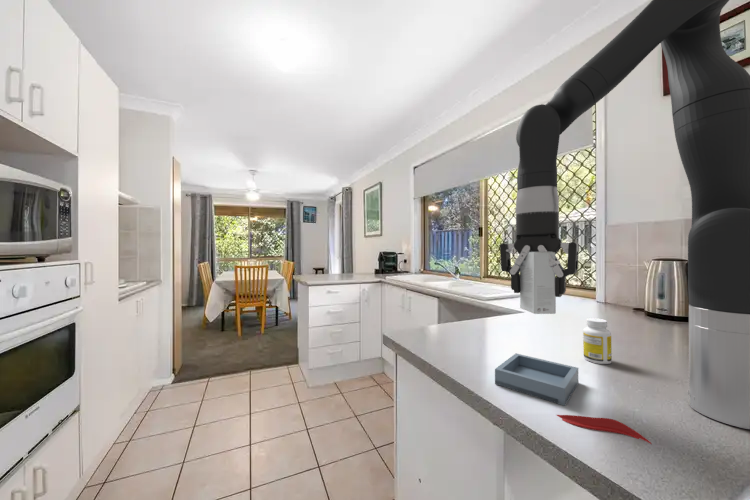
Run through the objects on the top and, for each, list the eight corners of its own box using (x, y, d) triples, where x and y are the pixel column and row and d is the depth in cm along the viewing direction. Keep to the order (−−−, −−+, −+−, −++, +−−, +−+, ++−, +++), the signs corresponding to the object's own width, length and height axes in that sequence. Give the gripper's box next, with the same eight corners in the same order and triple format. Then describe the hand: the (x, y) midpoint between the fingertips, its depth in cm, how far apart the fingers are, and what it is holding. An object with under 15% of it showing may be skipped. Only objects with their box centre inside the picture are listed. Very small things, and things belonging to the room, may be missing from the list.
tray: (578, 382, 59) (578, 367, 59) (564, 405, 51) (564, 388, 51) (515, 366, 68) (515, 353, 67) (494, 383, 59) (494, 369, 59)
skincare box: (556, 314, 56) (556, 251, 56) (534, 314, 56) (533, 251, 56) (539, 307, 62) (539, 251, 62) (519, 308, 62) (518, 251, 62)
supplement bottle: (601, 356, 73) (601, 317, 73) (617, 365, 68) (617, 323, 68) (578, 356, 74) (578, 317, 74) (592, 364, 68) (592, 322, 68)
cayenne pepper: (656, 441, 42) (655, 428, 42) (653, 457, 39) (653, 443, 39) (559, 408, 51) (559, 397, 51) (551, 419, 47) (551, 407, 47)
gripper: (583, 210, 57) (583, 296, 57) (506, 216, 66) (507, 289, 67) (575, 206, 51) (575, 301, 51) (493, 213, 61) (493, 293, 61)
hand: (536, 294), depth 59 cm, fingers closed on skincare box, 7 cm apart
